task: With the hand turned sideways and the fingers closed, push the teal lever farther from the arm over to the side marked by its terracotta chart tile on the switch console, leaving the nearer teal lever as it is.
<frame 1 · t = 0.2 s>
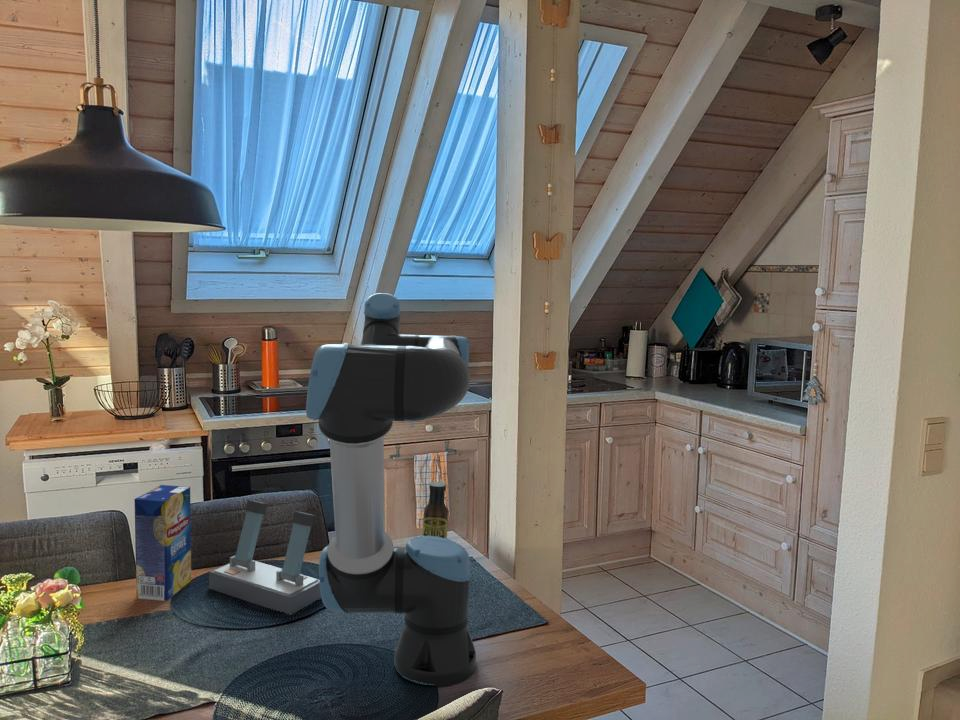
hand: (384, 422, 184), 35 cm above the table, tool tilted 35°, fingers open, 13 cm apart
sauce bottle: (433, 562, 191), on the table
lever far: (249, 533, 173), point 12 cm above the table, hinge at -20.0°
switch console: (265, 593, 169), on the table
lever near: (297, 546, 166), point 12 cm above the table, hinge at -20.0°
beverage box: (164, 590, 169), on the table
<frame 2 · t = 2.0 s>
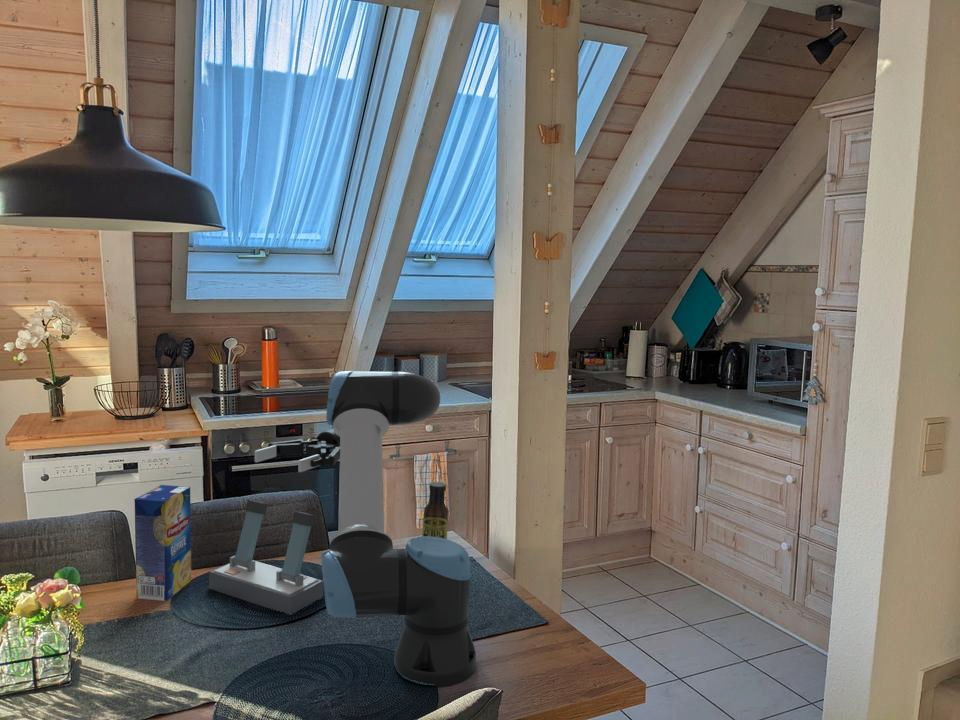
hand: (277, 461, 178), 27 cm above the table, tool horizontal, fingers open, 13 cm apart
nothing on the table moved.
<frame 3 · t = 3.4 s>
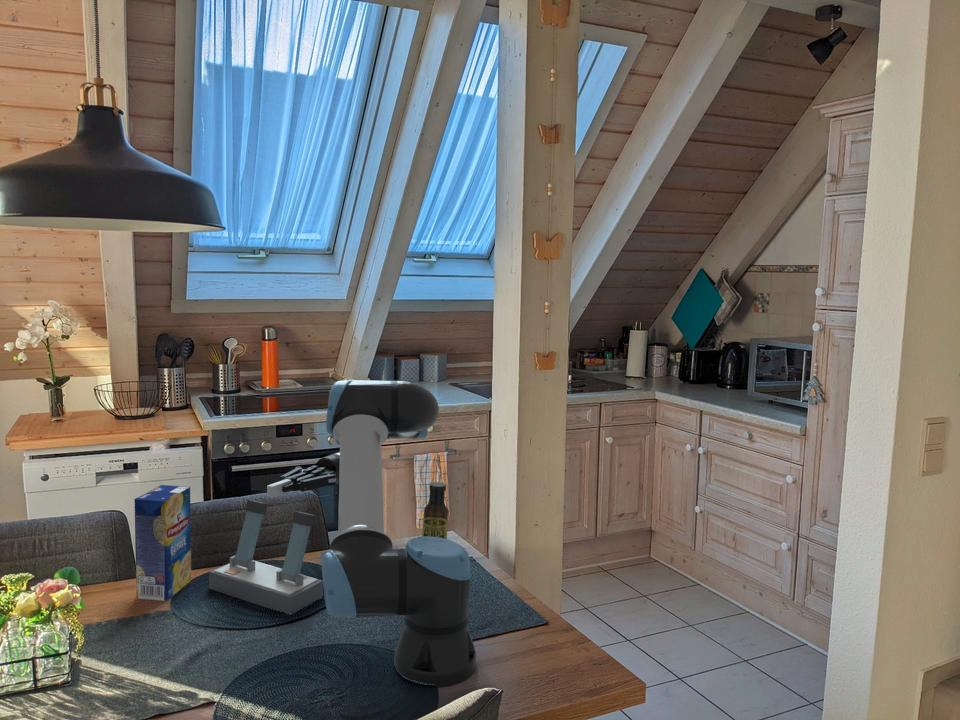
hand: (269, 491, 178), 20 cm above the table, tool horizontal, fingers closed
nothing on the table moved.
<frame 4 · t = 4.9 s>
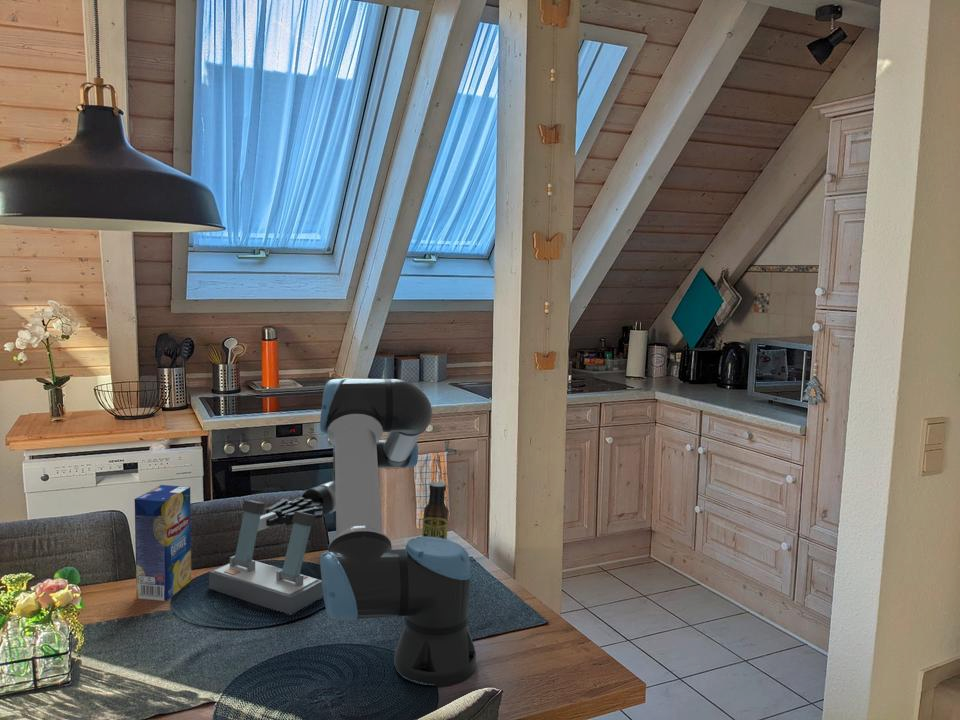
hand: (253, 525, 174), 13 cm above the table, tool horizontal, fingers closed
lever far: (248, 533, 172), point 12 cm above the table, hinge at -15.5°, touching gripper
everything else where it was.
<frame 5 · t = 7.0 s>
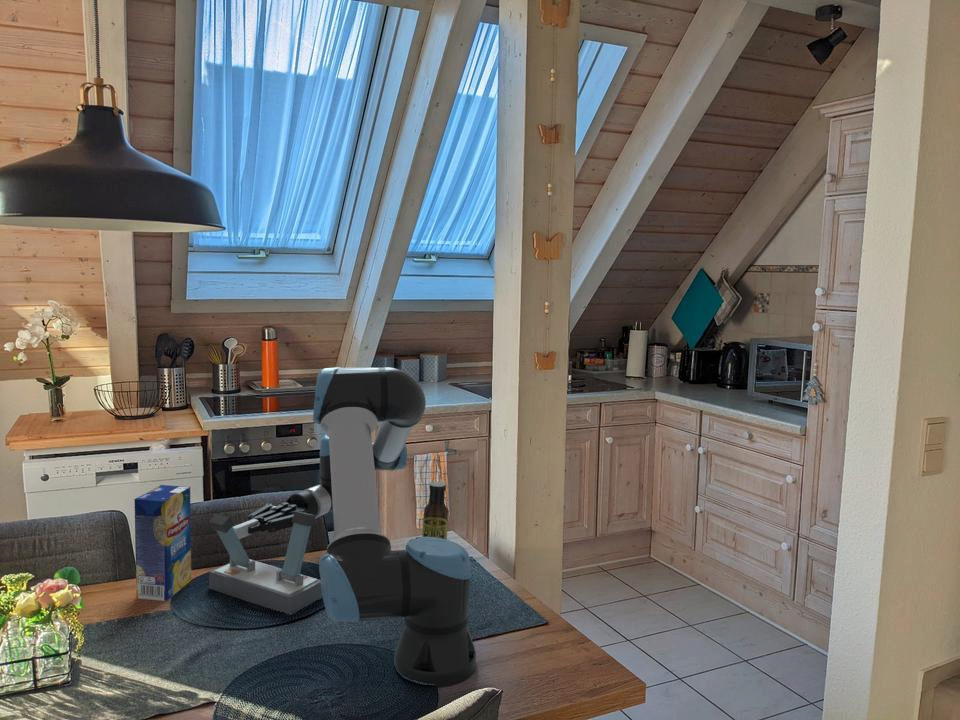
hand: (234, 533, 169), 13 cm above the table, tool horizontal, fingers closed
lever far: (231, 542, 168), point 11 cm above the table, hinge at 29.0°, touching gripper
everything else where it was.
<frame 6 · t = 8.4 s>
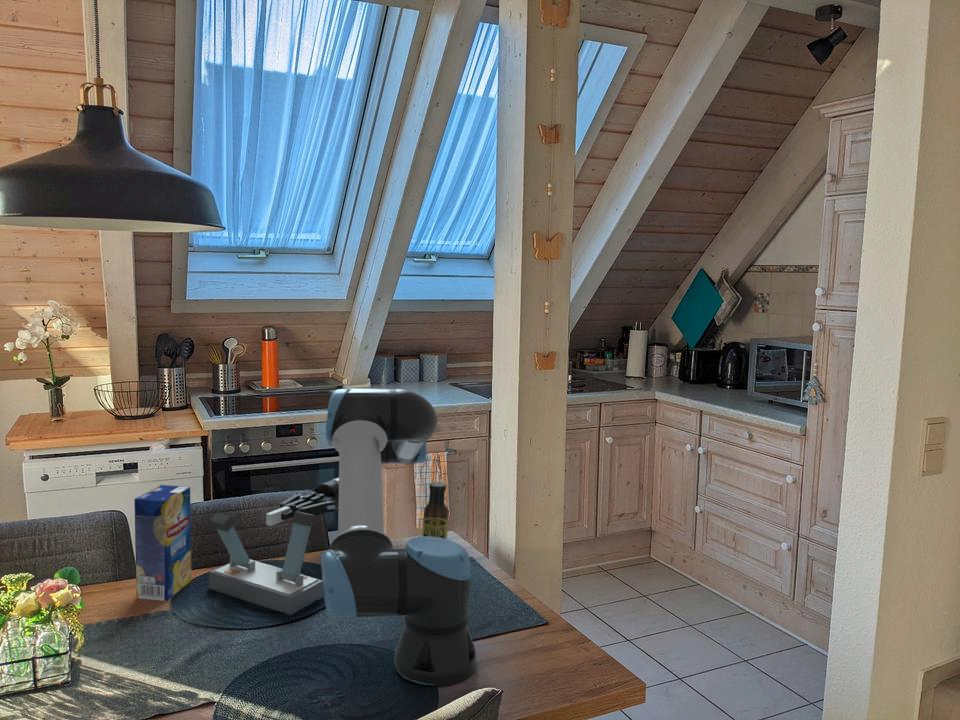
hand: (268, 519, 178), 13 cm above the table, tool horizontal, fingers closed
lever far: (232, 542, 168), point 11 cm above the table, hinge at 27.6°
everything else where it was.
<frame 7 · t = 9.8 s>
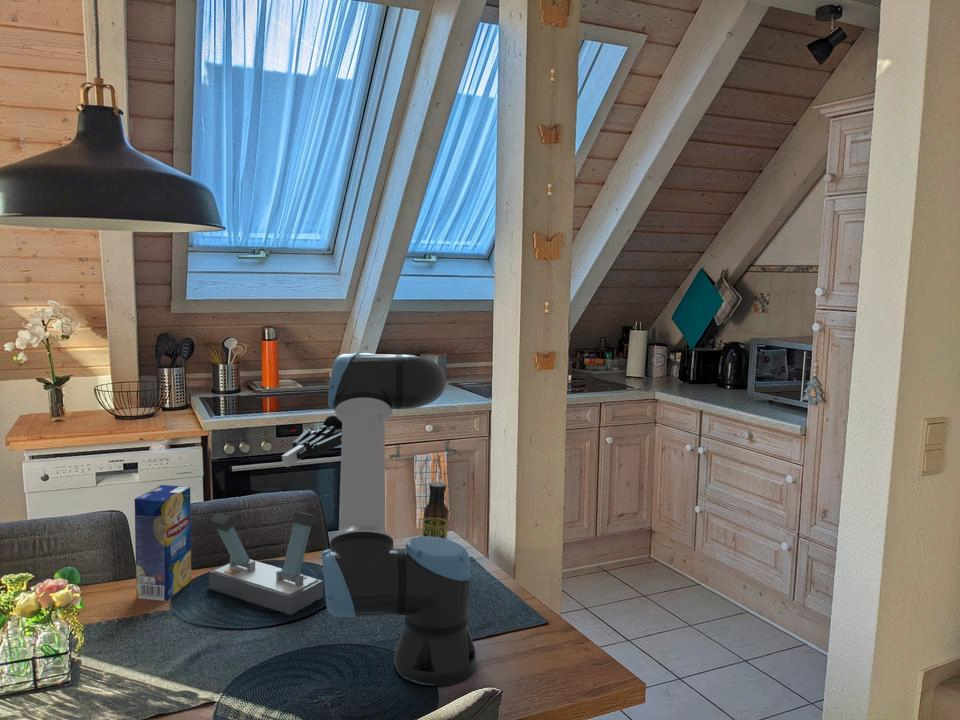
hand: (285, 461, 174), 28 cm above the table, tool horizontal, fingers closed
nothing on the table moved.
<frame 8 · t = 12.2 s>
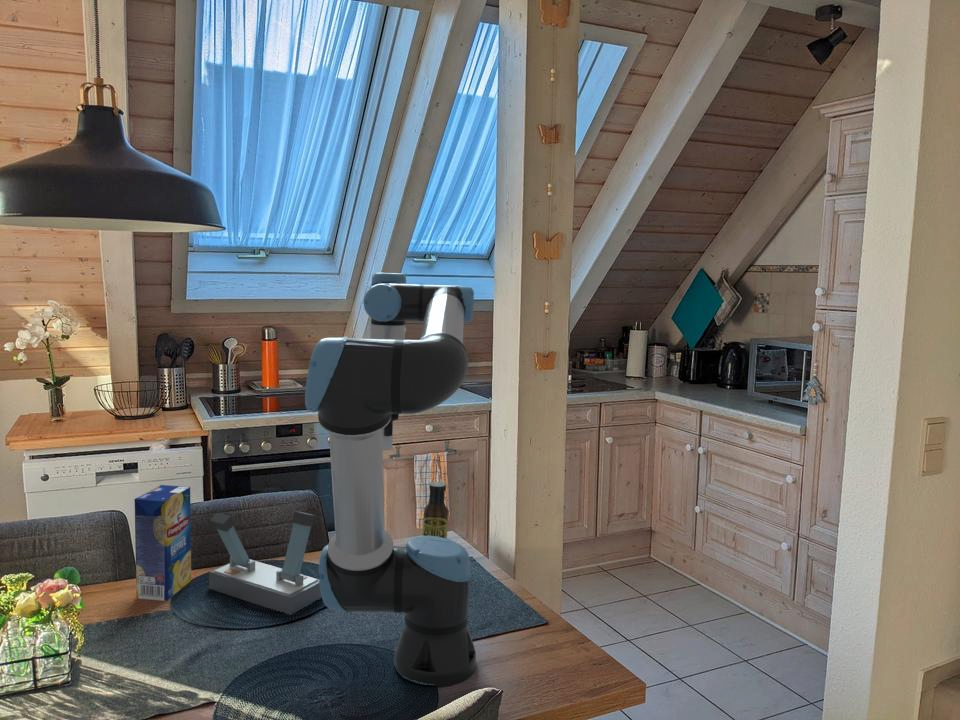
hand: (385, 449, 170), 32 cm above the table, tool pointing down, fingers closed
nothing on the table moved.
at the end: lever far at +28° (first picture: -20°); lever near at -20° (first picture: -20°) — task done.
